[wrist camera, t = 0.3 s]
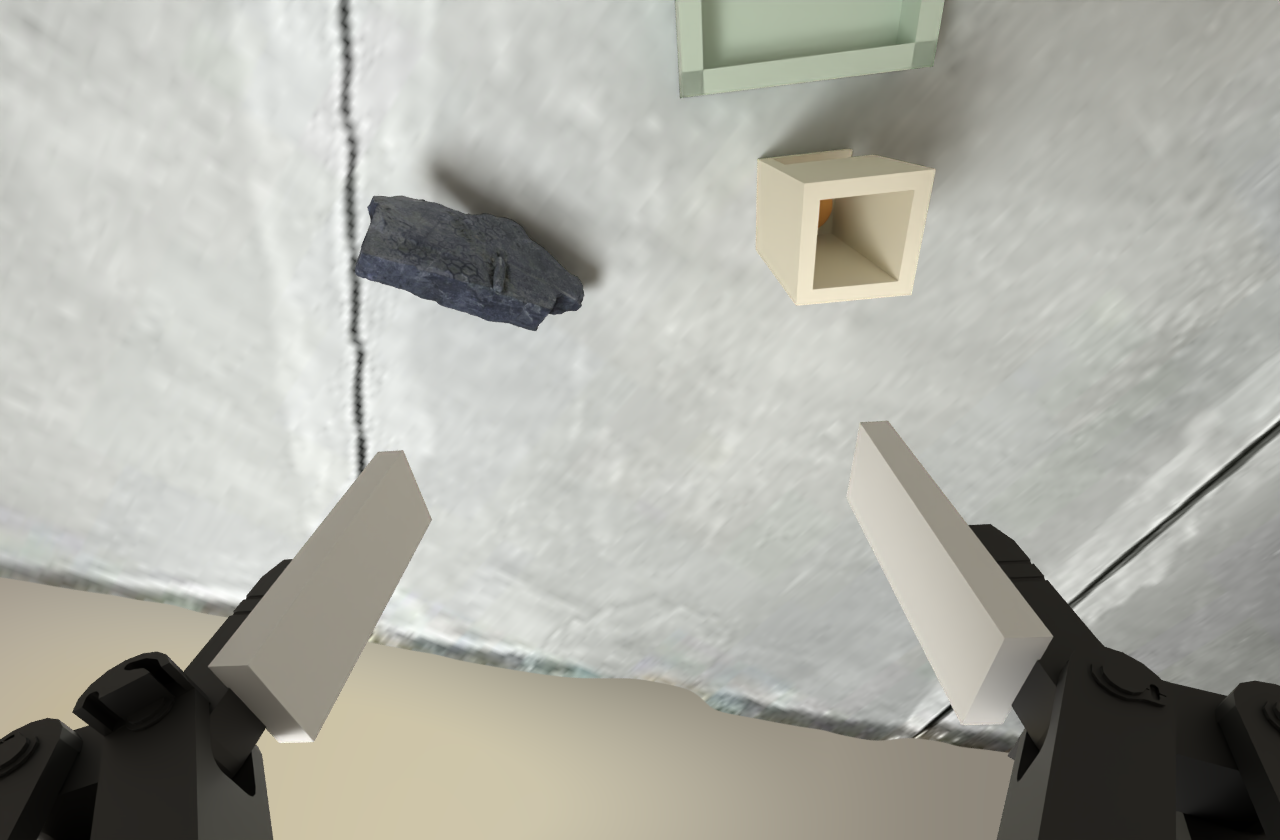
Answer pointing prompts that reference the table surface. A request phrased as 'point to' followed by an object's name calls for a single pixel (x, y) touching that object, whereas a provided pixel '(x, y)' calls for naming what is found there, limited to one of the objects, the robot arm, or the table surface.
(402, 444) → the table surface
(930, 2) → the tray
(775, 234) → the hollow box
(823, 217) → the ball
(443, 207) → the stone
